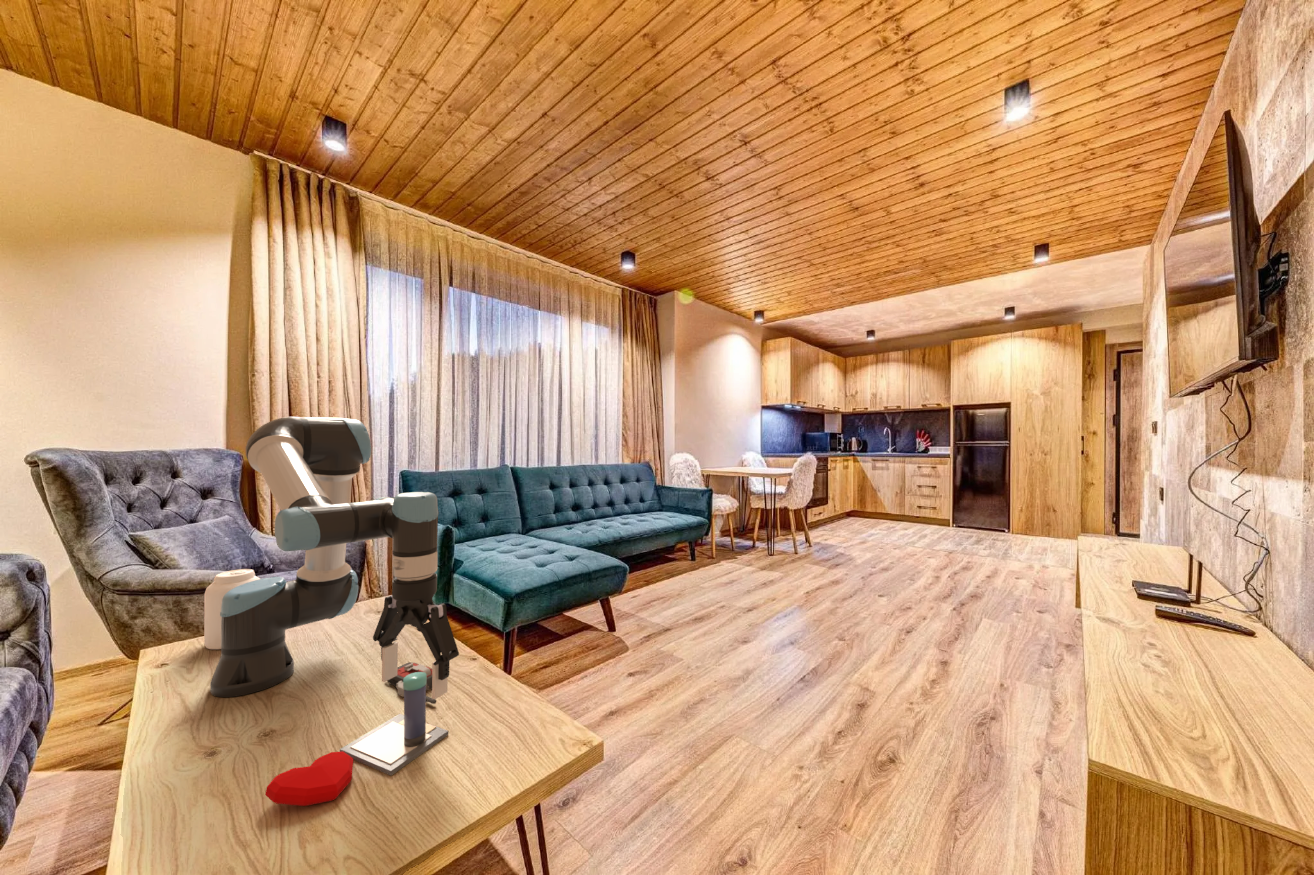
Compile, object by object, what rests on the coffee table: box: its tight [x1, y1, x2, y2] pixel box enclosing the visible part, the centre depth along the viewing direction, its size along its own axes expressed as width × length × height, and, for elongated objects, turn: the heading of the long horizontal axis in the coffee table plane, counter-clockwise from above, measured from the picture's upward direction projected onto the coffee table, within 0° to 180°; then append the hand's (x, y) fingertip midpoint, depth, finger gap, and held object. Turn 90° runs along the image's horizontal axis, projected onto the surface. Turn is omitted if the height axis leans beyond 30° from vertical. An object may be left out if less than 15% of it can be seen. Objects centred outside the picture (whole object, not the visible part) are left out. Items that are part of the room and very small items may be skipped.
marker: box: [403, 672, 427, 747], centre depth 87 cm, size 4×4×12 cm
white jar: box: [203, 568, 261, 650], centre depth 133 cm, size 12×12×20 cm
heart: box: [264, 751, 354, 807], centre depth 75 cm, size 12×4×10 cm
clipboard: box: [339, 713, 449, 776], centre depth 87 cm, size 14×12×1 cm
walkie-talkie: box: [387, 661, 437, 704], centre depth 107 cm, size 9×4×20 cm
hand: (413, 686), depth 87 cm, fingers open, 13 cm apart
